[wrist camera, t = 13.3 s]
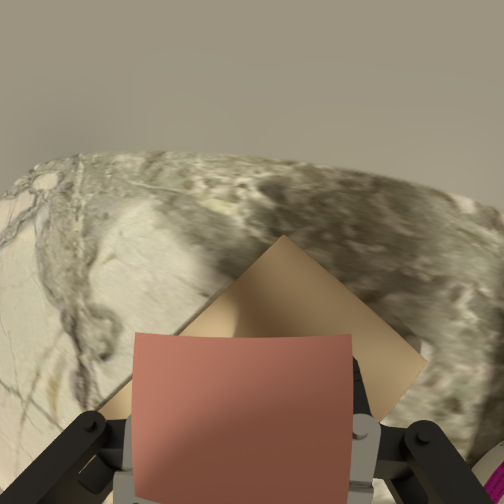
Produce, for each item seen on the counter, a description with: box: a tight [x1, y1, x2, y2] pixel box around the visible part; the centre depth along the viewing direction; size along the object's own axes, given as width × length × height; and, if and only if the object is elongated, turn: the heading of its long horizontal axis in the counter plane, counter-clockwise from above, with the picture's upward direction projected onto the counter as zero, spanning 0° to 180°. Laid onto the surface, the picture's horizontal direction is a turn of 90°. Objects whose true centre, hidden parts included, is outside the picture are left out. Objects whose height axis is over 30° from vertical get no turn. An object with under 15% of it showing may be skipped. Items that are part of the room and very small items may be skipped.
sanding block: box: [131, 332, 353, 504], centre depth 9 cm, size 5×5×10 cm
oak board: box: [83, 234, 428, 504], centre depth 14 cm, size 22×12×1 cm, turn 134°
